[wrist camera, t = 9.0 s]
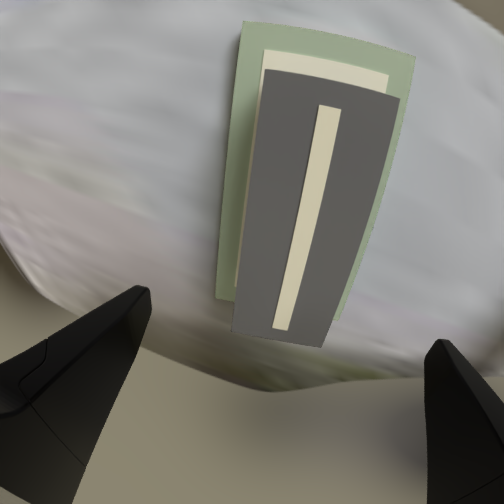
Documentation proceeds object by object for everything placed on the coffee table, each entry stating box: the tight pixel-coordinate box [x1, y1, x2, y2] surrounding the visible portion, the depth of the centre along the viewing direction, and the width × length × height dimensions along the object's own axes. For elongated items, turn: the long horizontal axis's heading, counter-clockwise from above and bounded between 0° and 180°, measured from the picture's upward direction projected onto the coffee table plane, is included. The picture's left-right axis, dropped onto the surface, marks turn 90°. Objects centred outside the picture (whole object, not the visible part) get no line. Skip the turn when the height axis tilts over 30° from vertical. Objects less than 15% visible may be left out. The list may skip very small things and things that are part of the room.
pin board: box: [215, 21, 416, 321], centre depth 17 cm, size 9×18×4 cm, turn 173°
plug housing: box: [231, 69, 400, 348], centre depth 16 cm, size 5×13×5 cm, turn 173°
